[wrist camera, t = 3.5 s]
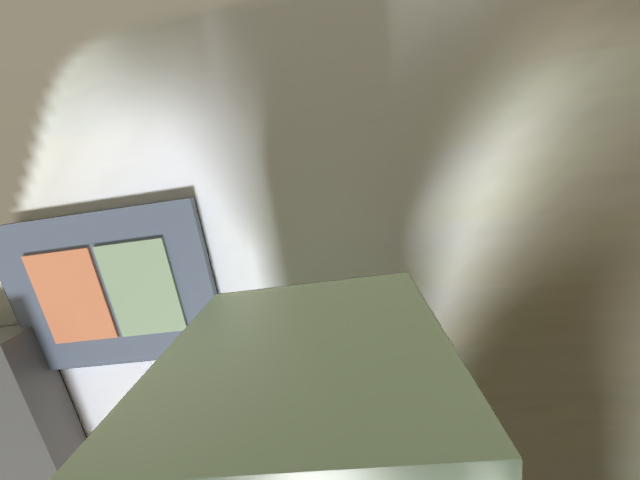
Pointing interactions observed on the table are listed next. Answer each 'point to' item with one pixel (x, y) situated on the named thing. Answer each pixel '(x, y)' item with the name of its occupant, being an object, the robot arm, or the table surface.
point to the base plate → (33, 410)
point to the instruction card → (107, 281)
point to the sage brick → (304, 395)
